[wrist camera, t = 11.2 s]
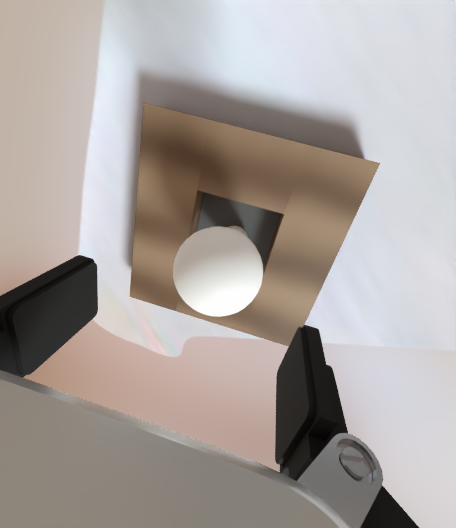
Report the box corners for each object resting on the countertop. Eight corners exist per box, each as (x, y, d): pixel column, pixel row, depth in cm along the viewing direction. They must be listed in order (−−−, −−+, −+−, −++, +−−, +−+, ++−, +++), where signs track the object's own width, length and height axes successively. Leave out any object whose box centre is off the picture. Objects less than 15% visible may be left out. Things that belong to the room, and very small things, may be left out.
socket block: (160, 109, 21) (143, 102, 19) (365, 162, 20) (379, 163, 17) (143, 283, 29) (129, 296, 26) (291, 329, 28) (293, 347, 25)
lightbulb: (226, 190, 22) (187, 221, 13) (280, 229, 23) (283, 287, 13) (194, 241, 25) (141, 300, 15) (243, 275, 26) (222, 352, 16)
